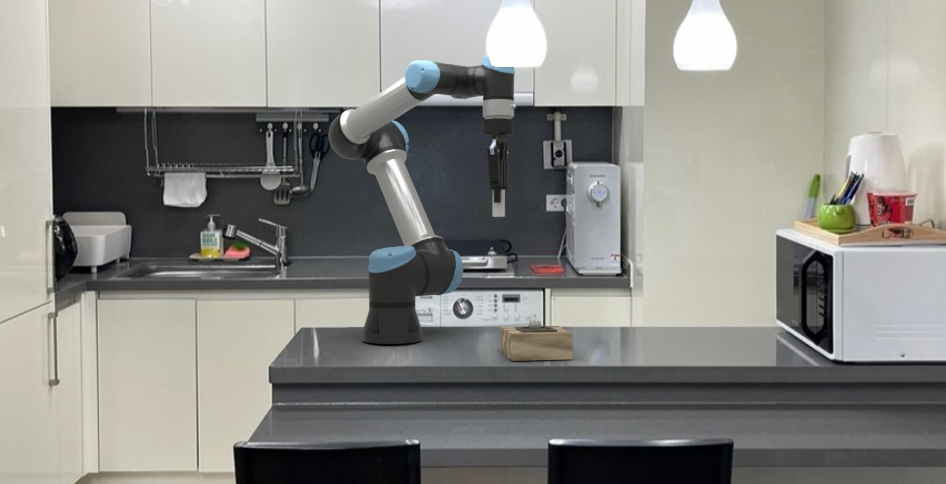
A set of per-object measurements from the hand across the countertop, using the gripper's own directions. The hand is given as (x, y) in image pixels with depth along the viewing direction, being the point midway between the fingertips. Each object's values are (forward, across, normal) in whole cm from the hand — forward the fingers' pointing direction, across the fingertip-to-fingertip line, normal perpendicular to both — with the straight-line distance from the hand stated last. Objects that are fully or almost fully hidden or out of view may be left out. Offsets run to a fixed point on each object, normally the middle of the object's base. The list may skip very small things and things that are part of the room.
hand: (498, 216), depth 233 cm
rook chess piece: (+33, -6, -10) cm, 35 cm away
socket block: (+32, -6, -11) cm, 35 cm away
